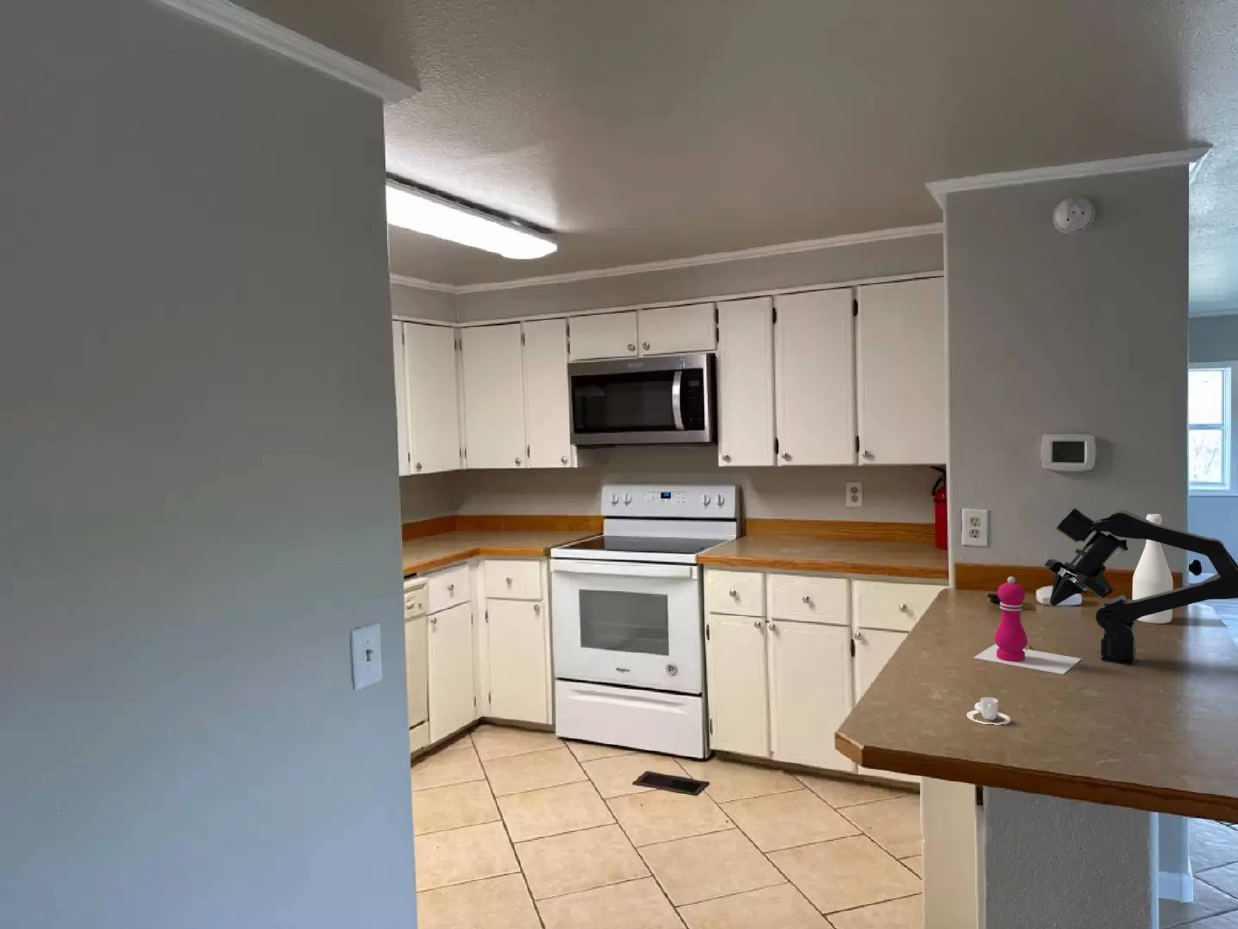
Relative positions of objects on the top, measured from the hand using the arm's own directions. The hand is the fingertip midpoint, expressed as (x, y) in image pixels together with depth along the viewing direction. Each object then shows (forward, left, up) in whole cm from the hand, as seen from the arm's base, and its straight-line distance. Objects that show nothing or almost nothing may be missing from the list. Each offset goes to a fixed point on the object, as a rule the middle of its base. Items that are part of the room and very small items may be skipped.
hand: (1051, 604), depth 202 cm
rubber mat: (+4, +5, -13) cm, 14 cm away
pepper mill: (+7, +7, -13) cm, 16 cm away
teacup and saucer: (-4, +47, -14) cm, 49 cm away
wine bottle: (-11, -55, -13) cm, 57 cm away
